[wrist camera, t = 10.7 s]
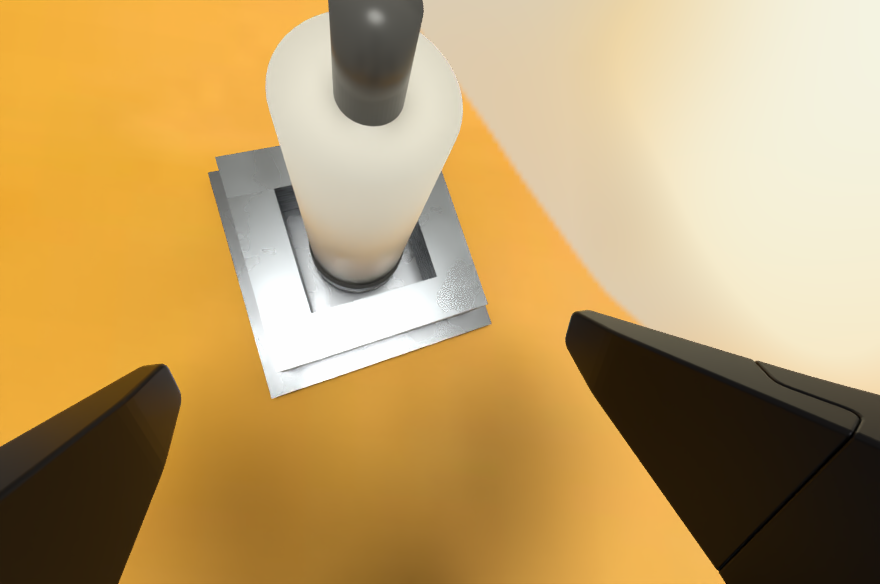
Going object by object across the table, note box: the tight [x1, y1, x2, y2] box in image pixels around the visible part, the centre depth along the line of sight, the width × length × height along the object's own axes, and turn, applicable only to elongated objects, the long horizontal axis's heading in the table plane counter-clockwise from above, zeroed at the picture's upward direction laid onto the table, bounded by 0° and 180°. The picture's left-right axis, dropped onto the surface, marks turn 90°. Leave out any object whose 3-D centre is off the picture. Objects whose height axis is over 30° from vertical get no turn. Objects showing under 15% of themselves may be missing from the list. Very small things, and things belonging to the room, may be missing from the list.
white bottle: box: [266, 0, 463, 293], centre depth 14 cm, size 5×5×15 cm
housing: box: [208, 146, 491, 398], centre depth 20 cm, size 12×12×4 cm
